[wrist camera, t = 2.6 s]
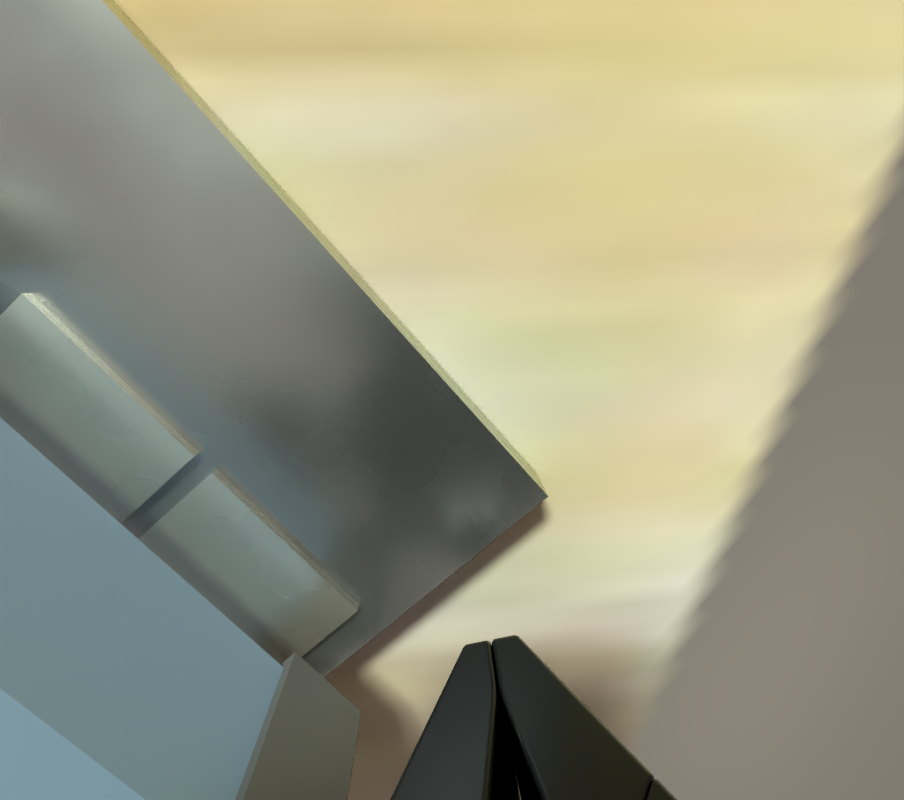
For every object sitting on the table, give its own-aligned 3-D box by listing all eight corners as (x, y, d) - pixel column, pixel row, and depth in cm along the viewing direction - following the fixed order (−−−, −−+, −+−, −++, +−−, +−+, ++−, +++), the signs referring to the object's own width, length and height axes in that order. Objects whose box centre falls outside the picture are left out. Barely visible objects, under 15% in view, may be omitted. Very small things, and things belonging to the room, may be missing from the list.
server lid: (536, 472, 11) (559, 518, 9) (129, 805, 13) (71, 907, 11) (61, -59, 9) (-50, -156, 7) (-370, 426, 10) (-567, 465, 8)
